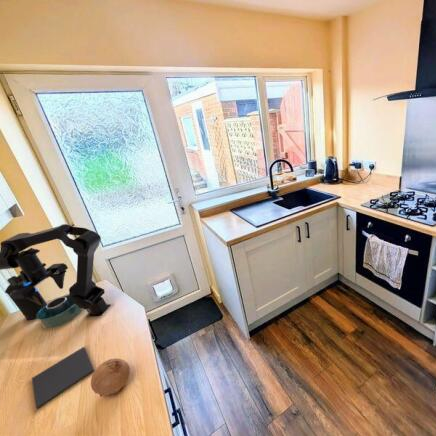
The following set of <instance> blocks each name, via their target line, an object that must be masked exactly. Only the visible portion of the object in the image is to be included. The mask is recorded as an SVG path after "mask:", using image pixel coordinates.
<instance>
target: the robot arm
mask: <svg viewBox="0 0 436 436" xmlns="http://www.w3.org/2000/svg"><path fill="white" fill-rule="evenodd" d="M68 235H71V236H77V237H75V238H74V239H73V238H71V237H69V236H68ZM54 240H59V241H61V242H62V243H63V244H64V245H65V246H66V247H68V248H70V249H72V251H73V253H75V254H76V255H77V263H76V264H77V266H76V282H75V283H74V284H72V285H71V286H70V287H69V288H68V293H69V294H68V295H69V296H70V299H71V300H72V302H73V303H75V304H76V305H77V306H78V307H79V308H83V310H86V312H87V313H88V314H87V315H86V318H94V317H101V316H103V315H104V313H106V311H107V310H108V309H109V308H110V307H111V304H107V302H106V301H105V299H104V297H103V295H105V289H104V288H102V287H100V286H98V285H97V284H96V282H95V281H93V274H94V273H93V272H94V257H95V252H96V251H97V249H98V247H99V246H100V243H101V240H102V238H101V235H100V234H99V233H98V232H96V231H94V230H91V229H88V228H86V227H79V226H72V225H70V224H67V223H63V224H59V225H58V226H55V227H51V228H48V229H44V230H40V231H37V232H33V233H31V232H21V233H17V234H15V235H13V236H10V237H9V238H7V239H5V240H3V241H1V242H0V271H1V270H12V269H17V268H20V271H19V275H17V276H16V275H13V276H11V277H10V278H7V279H6V281H7V282H8V284H9V285H12V286H14V285H16V284H18V285H20V284H21V283H23V282H25V283H29V282H31V283H30V284H29V285H27V286H20V287H18V288H17V289H15V290H14V291H12V292H11V293H10V296H9V298H10V297H11V298H12V299H24V298H27V299H30V300H32V301H34V302H36V303H38V304H40V305H43V301H42V299H41V297H40V295H39V293H40V291H39V290H38V291H39V292H38V291H35V290H36V289H37V286H38V285H40V284H41V283H43V282H44V281H46V280H47V279H49V278H51V279H52V280H53V281H54V283H55V284H56V286H57V287H58V288H59V289H60V290H63V289H64V284H65V283H64V282H65V275H66V272H67V270H68V269H69V267H68V265H67V264H66V263H63V262H61V263H53V264H51V265H50V266H48V267H47V268H46V266H47V264H46V262H42V261H41V259H40V258H39V256H38V255H37V254H38V253H40V252H41V250H40V249H38V248H33V247H32V246H37V245H40V244H44V243H47V242H50V241H51V242H52V241H54ZM34 287H36V289H35V288H34ZM11 298H10V299H11ZM12 299H11V300H12Z"/></svg>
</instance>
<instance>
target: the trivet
mask: <svg viewBox="0 0 436 436" xmlns="http://www.w3.org/2000/svg"><path fill="white" fill-rule="evenodd" d="M94 371H95V370H94V367H93V365H92V363H91V360H90V357H89V354H88V353H87V350H86V348H85V347H84V346H83V347H81V348H80V349H78V350H76V351H75V352H73V353H71V354H69V355H68V356H66V357H65V358H63V359H61V360H60V361H58V362H56V363H55V364H52V365H51V366H50V367H48V368H46V369H45V370H43V371H41V372H40V373H37V374H36V375H34V376H33V377H31V381H32V388H33V389H32V390H33V396H34V402H35V408H36V409H37V410H39V409H40V408H42V407H43V406H45V405H46V404H47V403H49V402H51V401H53V399H55V398H57V397H58V396H59V395H62V393H64V392H65V391H67V390H68V389H70V388H72V387H73V386H75V385H76V384H77V383H79V382H80V381H82V380H84V379H85V378H86V377H88V376H89V375H91V374H93V373H94Z"/></svg>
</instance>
